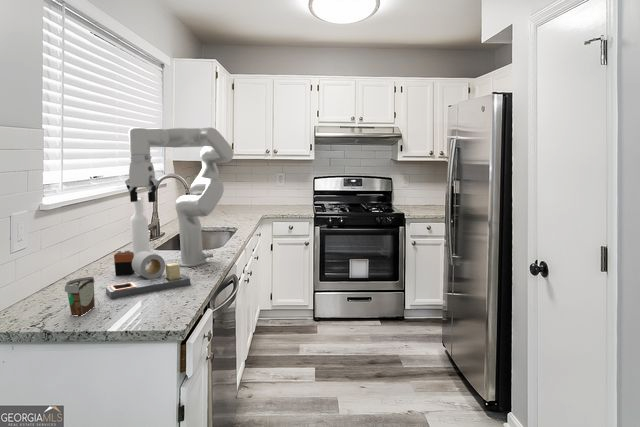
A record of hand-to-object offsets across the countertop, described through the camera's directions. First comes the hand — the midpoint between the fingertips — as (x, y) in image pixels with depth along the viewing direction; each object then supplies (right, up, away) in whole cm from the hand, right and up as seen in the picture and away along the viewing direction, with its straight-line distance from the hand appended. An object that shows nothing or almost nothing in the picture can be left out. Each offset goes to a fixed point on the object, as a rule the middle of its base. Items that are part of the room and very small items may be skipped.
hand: (143, 201), depth 186 cm
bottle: (-14, -28, +34) cm, 46 cm away
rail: (+8, -33, -15) cm, 37 cm away
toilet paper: (+1, -31, +4) cm, 31 cm away
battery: (-11, -31, +9) cm, 34 cm away
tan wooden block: (+16, -32, -10) cm, 37 cm away
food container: (-5, -36, -40) cm, 54 cm away
